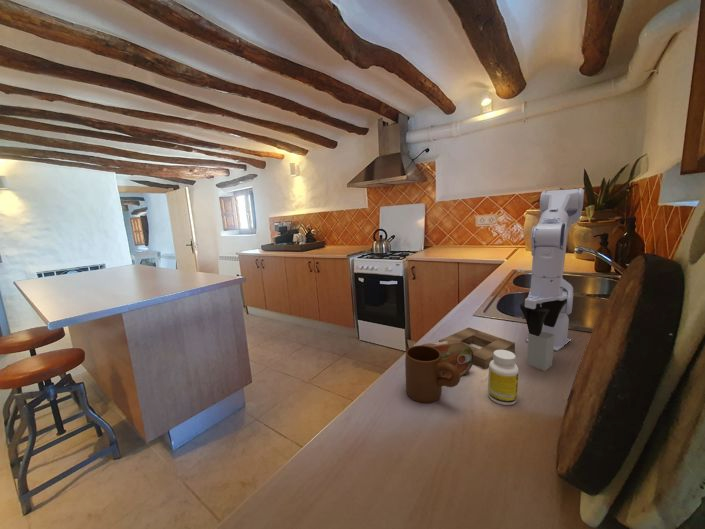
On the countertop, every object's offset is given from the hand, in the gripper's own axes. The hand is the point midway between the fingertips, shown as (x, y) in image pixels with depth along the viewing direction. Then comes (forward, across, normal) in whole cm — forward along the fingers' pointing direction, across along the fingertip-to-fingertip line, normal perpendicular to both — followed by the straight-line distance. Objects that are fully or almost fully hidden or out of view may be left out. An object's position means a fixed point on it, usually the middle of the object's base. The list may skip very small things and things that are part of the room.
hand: (541, 330), depth 70 cm
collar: (+9, -5, +14) cm, 17 cm away
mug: (+9, -30, +8) cm, 32 cm away
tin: (+9, -22, +12) cm, 27 cm away
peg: (+9, 0, 0) cm, 9 cm away
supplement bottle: (+9, -19, -1) cm, 21 cm away
